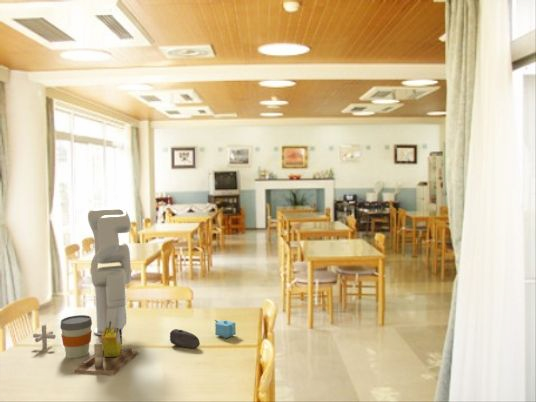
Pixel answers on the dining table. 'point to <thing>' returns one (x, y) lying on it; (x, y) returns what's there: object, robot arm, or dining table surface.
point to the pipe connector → (44, 336)
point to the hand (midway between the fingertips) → (117, 344)
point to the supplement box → (111, 342)
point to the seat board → (105, 361)
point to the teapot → (225, 328)
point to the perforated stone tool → (184, 339)
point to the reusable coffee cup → (76, 335)
